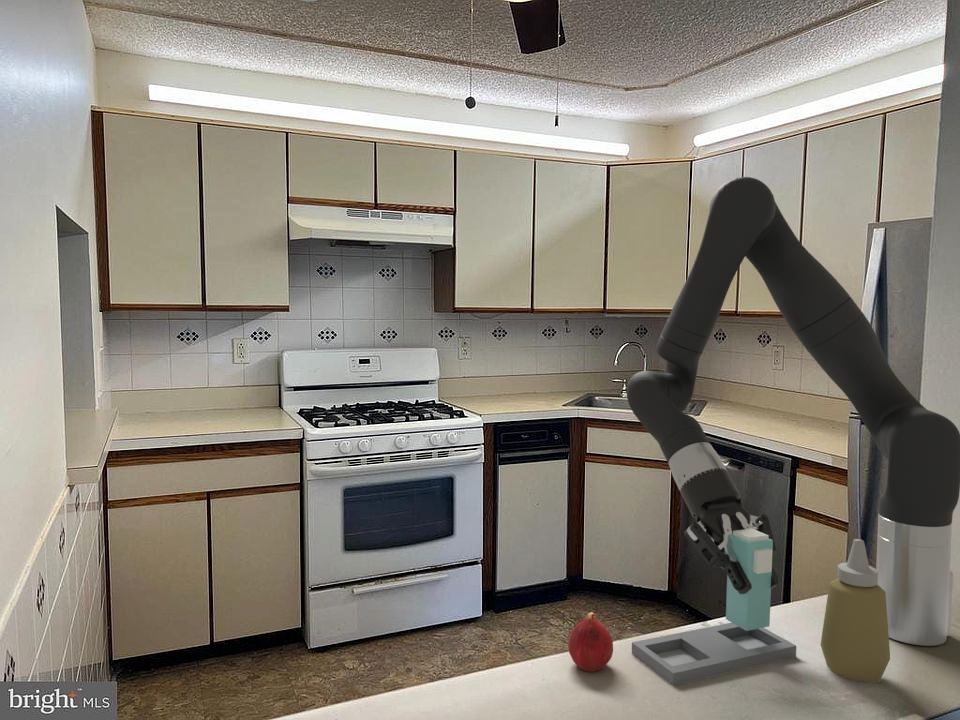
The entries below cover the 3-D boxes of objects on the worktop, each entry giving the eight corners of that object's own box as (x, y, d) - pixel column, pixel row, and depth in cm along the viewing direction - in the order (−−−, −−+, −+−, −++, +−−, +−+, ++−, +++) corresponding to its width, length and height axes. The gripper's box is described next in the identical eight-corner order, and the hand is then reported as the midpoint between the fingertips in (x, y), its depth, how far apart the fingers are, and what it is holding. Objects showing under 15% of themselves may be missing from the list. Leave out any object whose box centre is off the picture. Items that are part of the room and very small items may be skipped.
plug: (748, 614, 101) (751, 527, 101) (773, 628, 97) (777, 537, 96) (725, 619, 100) (728, 530, 99) (750, 633, 96) (754, 540, 95)
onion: (612, 686, 90) (613, 625, 90) (566, 682, 91) (567, 621, 91) (613, 664, 96) (614, 606, 95) (569, 660, 97) (570, 602, 97)
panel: (747, 635, 105) (748, 619, 105) (795, 663, 96) (796, 645, 96) (631, 660, 97) (631, 642, 97) (672, 692, 89) (673, 673, 89)
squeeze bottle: (904, 691, 89) (909, 550, 88) (841, 694, 89) (846, 551, 88) (864, 660, 97) (869, 530, 96) (807, 662, 97) (811, 531, 96)
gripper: (675, 470, 102) (732, 584, 91) (754, 463, 107) (816, 570, 97) (652, 497, 107) (703, 608, 97) (728, 489, 112) (784, 593, 102)
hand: (759, 588), depth 97 cm, fingers closed on plug, 4 cm apart
